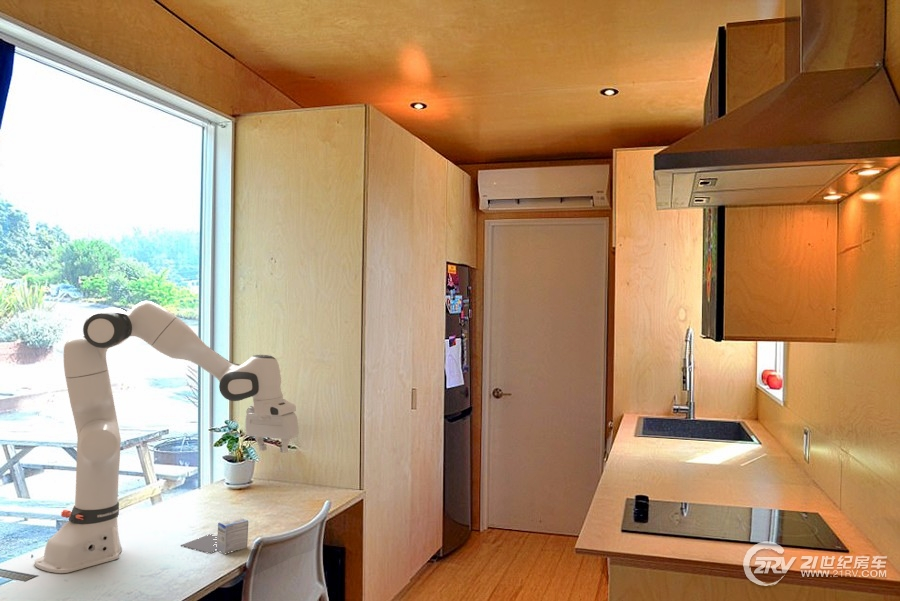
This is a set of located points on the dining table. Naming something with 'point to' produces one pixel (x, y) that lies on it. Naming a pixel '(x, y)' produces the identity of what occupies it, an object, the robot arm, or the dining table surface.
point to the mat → (203, 544)
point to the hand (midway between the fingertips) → (273, 451)
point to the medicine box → (232, 535)
